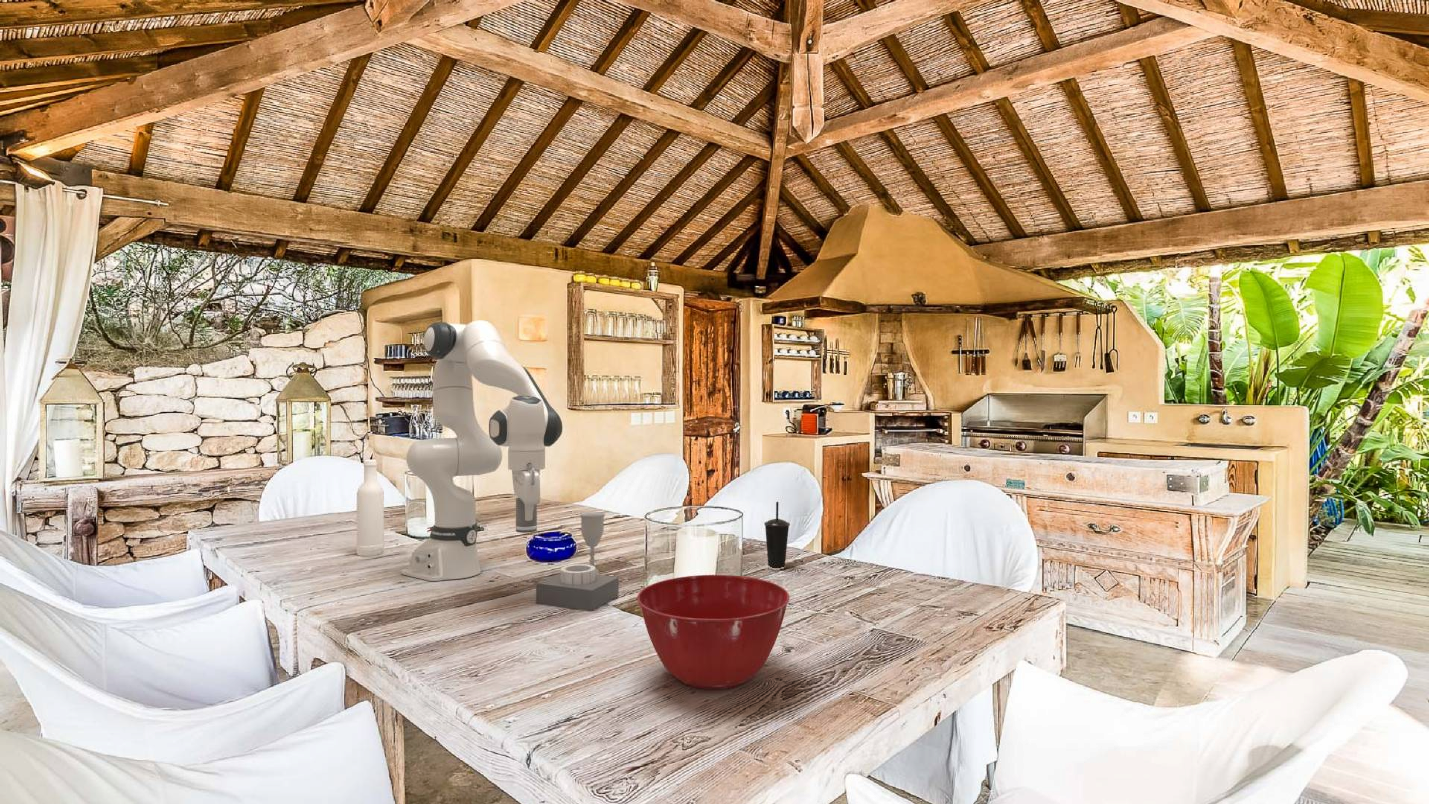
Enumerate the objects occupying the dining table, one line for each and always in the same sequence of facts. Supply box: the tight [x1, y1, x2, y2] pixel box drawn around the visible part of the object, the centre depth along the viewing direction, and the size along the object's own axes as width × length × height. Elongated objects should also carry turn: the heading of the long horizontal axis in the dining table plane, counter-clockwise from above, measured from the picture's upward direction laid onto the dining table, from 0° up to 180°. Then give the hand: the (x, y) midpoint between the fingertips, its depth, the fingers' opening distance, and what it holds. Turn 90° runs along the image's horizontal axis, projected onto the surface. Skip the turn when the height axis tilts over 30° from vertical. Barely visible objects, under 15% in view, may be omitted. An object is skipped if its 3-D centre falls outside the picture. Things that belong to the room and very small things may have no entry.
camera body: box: [535, 563, 620, 612], centre depth 182 cm, size 16×13×8 cm
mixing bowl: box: [637, 574, 791, 690], centre depth 135 cm, size 28×28×15 cm
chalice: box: [578, 511, 606, 575], centre depth 203 cm, size 7×7×18 cm
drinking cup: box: [764, 501, 791, 568], centre depth 216 cm, size 8×8×20 cm
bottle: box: [356, 459, 385, 557], centre depth 230 cm, size 8×8×30 cm
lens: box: [515, 497, 538, 534], centre depth 177 cm, size 5×5×8 cm
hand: (526, 518), depth 177 cm, fingers closed on lens, 5 cm apart
